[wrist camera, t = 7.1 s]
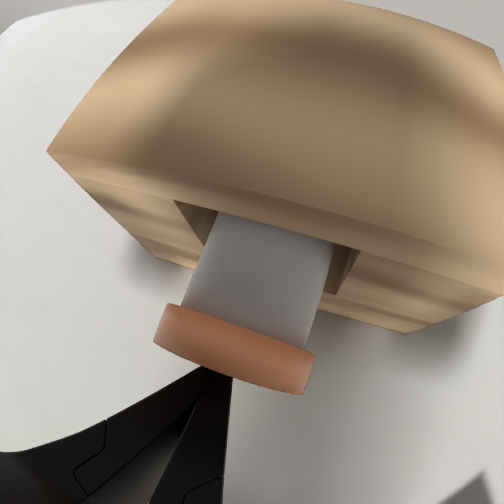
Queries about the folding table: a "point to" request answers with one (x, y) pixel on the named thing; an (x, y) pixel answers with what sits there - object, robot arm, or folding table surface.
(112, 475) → the robot arm
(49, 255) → the folding table surface
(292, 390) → the plunger
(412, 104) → the wooden box
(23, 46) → the folding table surface
